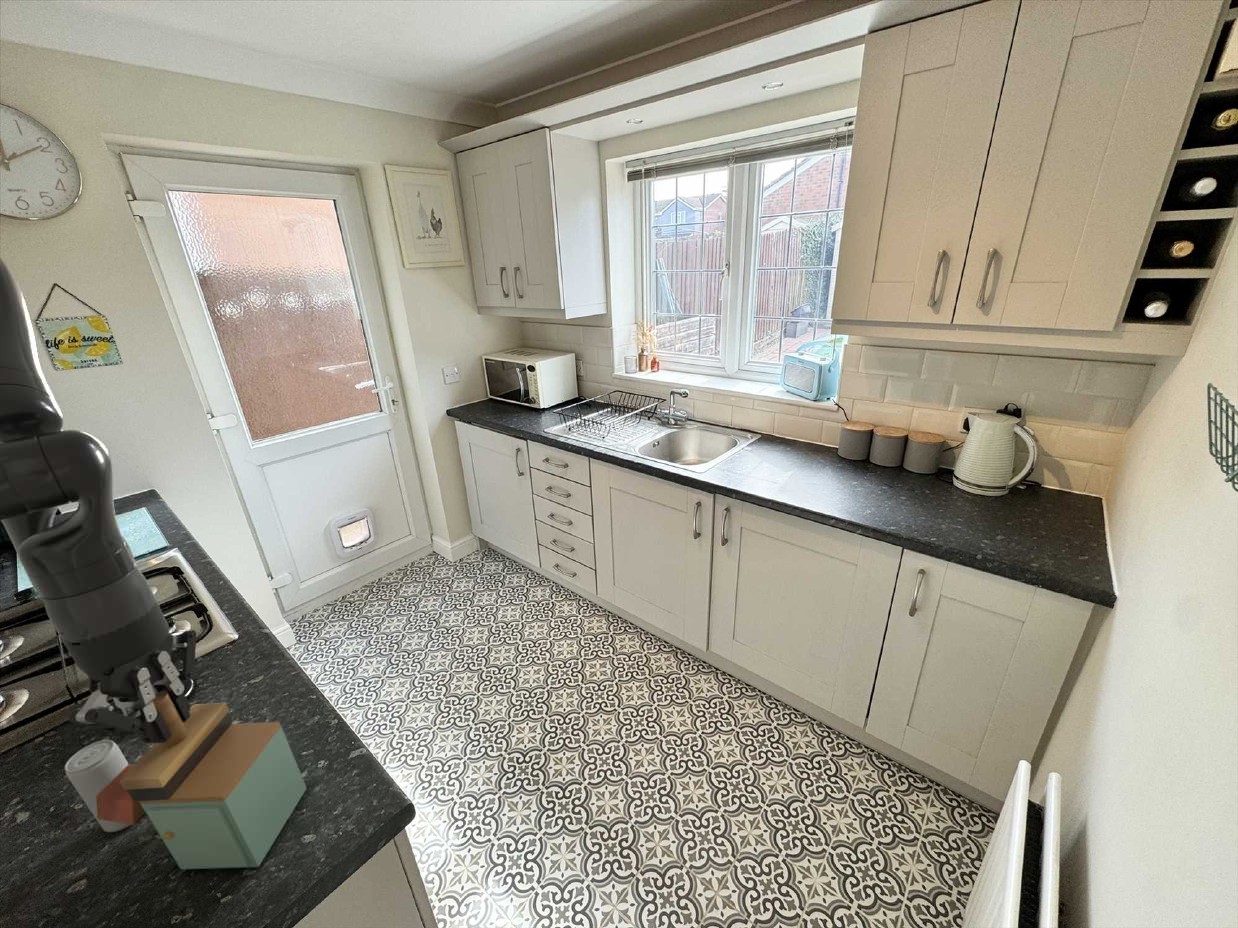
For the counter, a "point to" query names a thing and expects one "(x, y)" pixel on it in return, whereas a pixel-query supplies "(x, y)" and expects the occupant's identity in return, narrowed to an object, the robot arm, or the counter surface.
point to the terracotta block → (118, 802)
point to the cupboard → (231, 800)
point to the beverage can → (96, 775)
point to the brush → (176, 749)
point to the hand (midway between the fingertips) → (170, 729)
